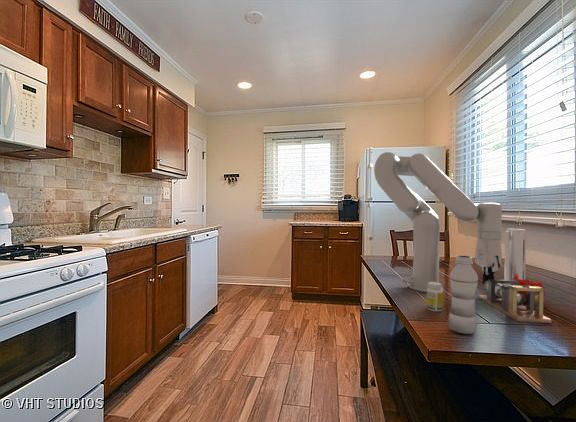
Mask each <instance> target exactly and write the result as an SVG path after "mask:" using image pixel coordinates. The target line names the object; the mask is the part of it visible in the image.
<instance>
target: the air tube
mask: <svg viewBox="0 0 576 422" xmlns="http://www.w3.org/2000/svg"><path fill="white" fill-rule="evenodd" d="M483 285H484V286H483V287H484V290H485V291H487V292H488V289H489V280H487V281H486V282H485V284H483ZM502 285H504V284H502V283H495V295H496V296H498V297H500V298H502ZM525 303H526V302H525V296H524V294H523V293H521V292H520V291H517V306H520V305H524V304H525Z"/></svg>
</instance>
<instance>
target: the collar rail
mask: <svg viewBox="0 0 576 422" xmlns="http://www.w3.org/2000/svg"><path fill="white" fill-rule="evenodd" d="M495 283H501V284H503V285H502V298H500V297H498V296H496V295H495ZM504 284H511V285H504ZM517 291H526V302H525V305H524V304H522V305H520V306H517ZM534 291H535V303H534ZM544 291H545V288H541V287H539V286H525V285H523V286H518V281H516V280H504V279H495V278H494V279H489V289H488V291H487V292H488V293H486V294H485V295H484V294H482V295H481V294H478V299H479V300H482V301H483V302H485V303H486V304H488V305H490V306H492V307H493V308H494V309H497V310H498V311H500V312H501V313H503V314H505V315H507V316H508V317H510V318H511V319H513V320H514V321H517V322H527V323H528V322H529V323H542V324H543V323H546V324H552V319H551V318H549V317H548V316H545V315H544V299H543V294H544Z"/></svg>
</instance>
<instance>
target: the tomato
mask: <svg viewBox="0 0 576 422" xmlns="http://www.w3.org/2000/svg"><path fill="white" fill-rule="evenodd" d="M516 281H518V286H523V285H525V286H539V287H541V288H544V285H543V284H542V283H541V282H540V281H532V280H530V279H526V278H525V279H524V280H521V279H517V280H516ZM544 289H545V288H544ZM520 292H521V293H523V294H524V296H525V302H524V303H526V291H520ZM545 292H546V291H545V290H544V294H543V300H544V299H545V295H546V293H545ZM534 304H535V291H534Z"/></svg>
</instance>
